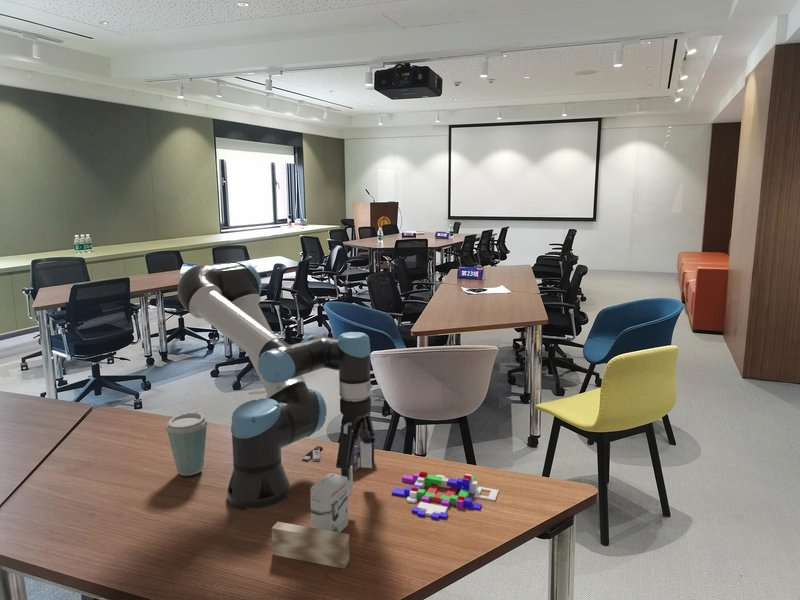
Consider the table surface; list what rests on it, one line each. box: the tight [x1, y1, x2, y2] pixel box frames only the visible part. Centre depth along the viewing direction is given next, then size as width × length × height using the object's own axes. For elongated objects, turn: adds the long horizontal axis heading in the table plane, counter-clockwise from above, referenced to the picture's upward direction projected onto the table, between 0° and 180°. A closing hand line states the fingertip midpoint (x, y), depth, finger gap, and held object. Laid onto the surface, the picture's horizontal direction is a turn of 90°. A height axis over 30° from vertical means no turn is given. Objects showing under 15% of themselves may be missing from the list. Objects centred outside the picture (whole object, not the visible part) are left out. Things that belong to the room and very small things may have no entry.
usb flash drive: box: [301, 445, 324, 462], centre depth 164 cm, size 9×5×1 cm, turn 159°
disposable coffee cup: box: [165, 411, 208, 477], centre depth 153 cm, size 11×11×15 cm
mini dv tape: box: [351, 442, 375, 473], centre depth 157 cm, size 8×2×6 cm, turn 139°
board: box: [271, 521, 350, 569], centre depth 116 cm, size 16×2×6 cm, turn 74°
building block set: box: [391, 471, 499, 520], centre depth 141 cm, size 25×20×4 cm
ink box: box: [309, 472, 349, 533], centre depth 125 cm, size 9×5×12 cm, turn 156°
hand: (357, 479), depth 141 cm, fingers open, 13 cm apart
